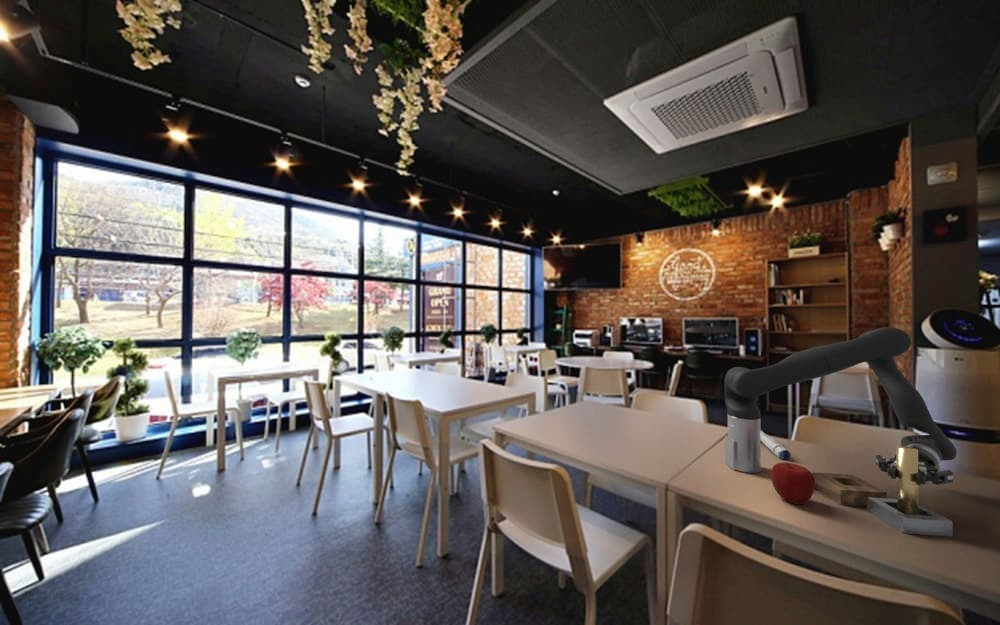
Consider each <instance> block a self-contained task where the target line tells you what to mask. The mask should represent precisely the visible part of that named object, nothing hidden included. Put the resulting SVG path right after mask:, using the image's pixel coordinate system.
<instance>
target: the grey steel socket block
mask: <svg viewBox="0 0 1000 625" xmlns="http://www.w3.org/2000/svg"><path fill="white" fill-rule="evenodd" d="M866 511H867V512H868V513H870V514H872V515H873V516H876V517H877V518H878V519H880V520H882V521H883V522H884V523H886V524H888V525H890V526H891V527H892V528H894V529H896V530H897V531H899V532H900V533H902V534H910V535H924V536H938V537H950V538H951V537H952V538H953V530H954V529H953V527H954V525H953V521H952V520H951V519H948V518H947V517H945V516H943V515H941V514H939V513H937V512H936V511H933V510H931V509H930V508H927V507H926V506H923V505H922V504H919V515H908V514H903V513H902V512H900V511H898V510H897V498H888V497H887V498H871V497H867V506H866Z"/></svg>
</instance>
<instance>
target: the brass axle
mask: <svg viewBox="0 0 1000 625" xmlns="http://www.w3.org/2000/svg"><path fill="white" fill-rule="evenodd" d="M895 447H896V451H895V452H896V454H895V455H896V460H897V477H896V499H897V510H898V511H900V512H902V513H903V514H908V515H919V503H920V502H919V500H920V497H919V493H920V492H919V489H920V488H919V486H920V485H917V484H916V475H917V473H918V449H915V448H912V447H908V446H901V445H896V446H895Z"/></svg>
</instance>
